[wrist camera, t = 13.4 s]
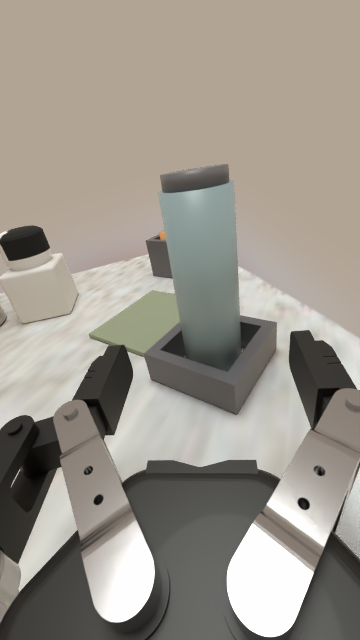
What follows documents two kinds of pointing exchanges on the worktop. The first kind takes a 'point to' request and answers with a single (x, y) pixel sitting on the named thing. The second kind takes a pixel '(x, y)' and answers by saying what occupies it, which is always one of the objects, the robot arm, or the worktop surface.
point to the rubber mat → (141, 323)
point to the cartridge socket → (207, 380)
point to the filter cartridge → (204, 261)
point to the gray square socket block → (159, 257)
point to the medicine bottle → (35, 275)
